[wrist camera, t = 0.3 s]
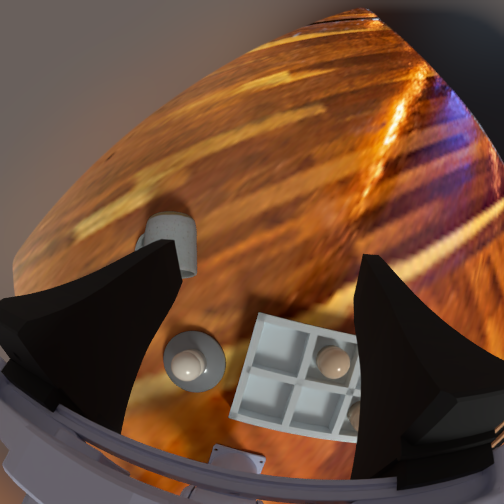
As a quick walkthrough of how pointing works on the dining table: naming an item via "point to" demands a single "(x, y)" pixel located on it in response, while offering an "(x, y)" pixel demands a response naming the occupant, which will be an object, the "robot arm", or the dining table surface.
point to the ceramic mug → (174, 237)
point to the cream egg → (188, 364)
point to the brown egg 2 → (354, 415)
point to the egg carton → (296, 381)
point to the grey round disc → (210, 351)
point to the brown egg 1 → (333, 362)
